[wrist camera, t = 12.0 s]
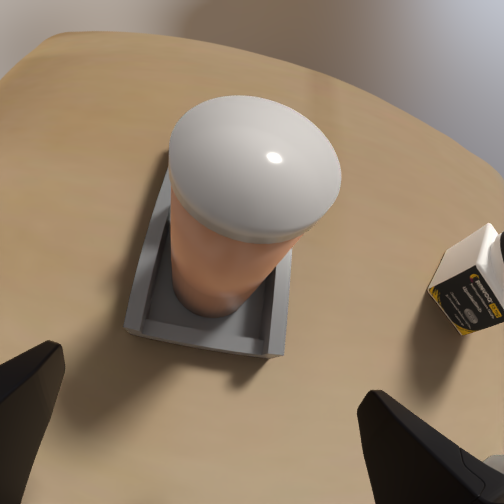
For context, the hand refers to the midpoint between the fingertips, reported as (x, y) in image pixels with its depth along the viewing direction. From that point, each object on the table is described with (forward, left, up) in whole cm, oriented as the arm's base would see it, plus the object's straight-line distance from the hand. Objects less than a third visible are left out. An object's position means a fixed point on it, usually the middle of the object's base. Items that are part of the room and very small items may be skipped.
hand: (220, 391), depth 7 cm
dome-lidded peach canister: (+2, +7, -12) cm, 14 cm away
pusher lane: (+3, +11, -12) cm, 17 cm away
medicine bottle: (+27, +2, -12) cm, 30 cm away
